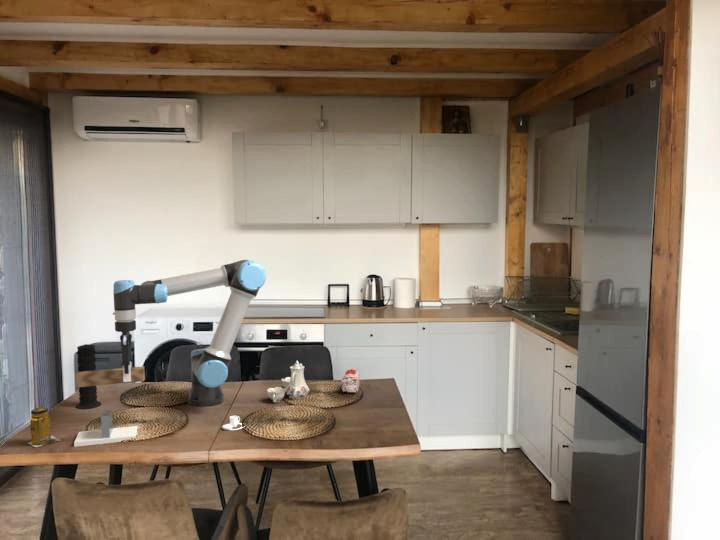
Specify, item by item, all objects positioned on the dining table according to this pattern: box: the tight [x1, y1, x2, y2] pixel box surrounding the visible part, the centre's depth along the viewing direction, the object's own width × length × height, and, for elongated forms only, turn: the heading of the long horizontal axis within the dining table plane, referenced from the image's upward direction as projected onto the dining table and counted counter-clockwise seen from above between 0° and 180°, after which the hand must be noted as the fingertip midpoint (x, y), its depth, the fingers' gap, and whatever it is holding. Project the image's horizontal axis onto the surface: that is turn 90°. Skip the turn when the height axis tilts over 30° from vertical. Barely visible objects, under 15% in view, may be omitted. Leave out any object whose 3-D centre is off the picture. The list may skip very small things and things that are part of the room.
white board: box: [73, 425, 139, 448], centre depth 209 cm, size 20×11×2 cm, turn 107°
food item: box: [341, 368, 360, 392], centre depth 267 cm, size 14×8×10 cm, turn 177°
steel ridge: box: [100, 407, 113, 439], centre depth 209 cm, size 2×9×8 cm, turn 18°
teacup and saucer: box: [221, 415, 244, 431], centre depth 220 cm, size 9×8×4 cm
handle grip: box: [75, 343, 102, 410], centre depth 246 cm, size 10×26×10 cm
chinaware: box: [265, 360, 311, 403], centre depth 259 cm, size 28×17×17 cm, turn 172°
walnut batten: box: [75, 365, 146, 388], centre depth 224 cm, size 24×4×5 cm, turn 103°
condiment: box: [27, 407, 60, 448], centre depth 205 cm, size 7×8×12 cm
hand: (127, 379), depth 226 cm, fingers closed on walnut batten, 4 cm apart
